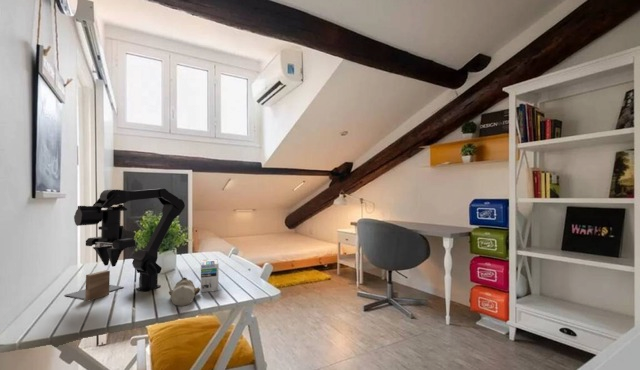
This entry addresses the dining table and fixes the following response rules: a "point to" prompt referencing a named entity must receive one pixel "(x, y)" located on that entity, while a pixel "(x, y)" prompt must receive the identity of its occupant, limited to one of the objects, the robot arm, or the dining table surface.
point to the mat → (82, 293)
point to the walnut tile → (97, 285)
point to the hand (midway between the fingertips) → (110, 265)
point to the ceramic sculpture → (183, 292)
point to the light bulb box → (209, 275)
